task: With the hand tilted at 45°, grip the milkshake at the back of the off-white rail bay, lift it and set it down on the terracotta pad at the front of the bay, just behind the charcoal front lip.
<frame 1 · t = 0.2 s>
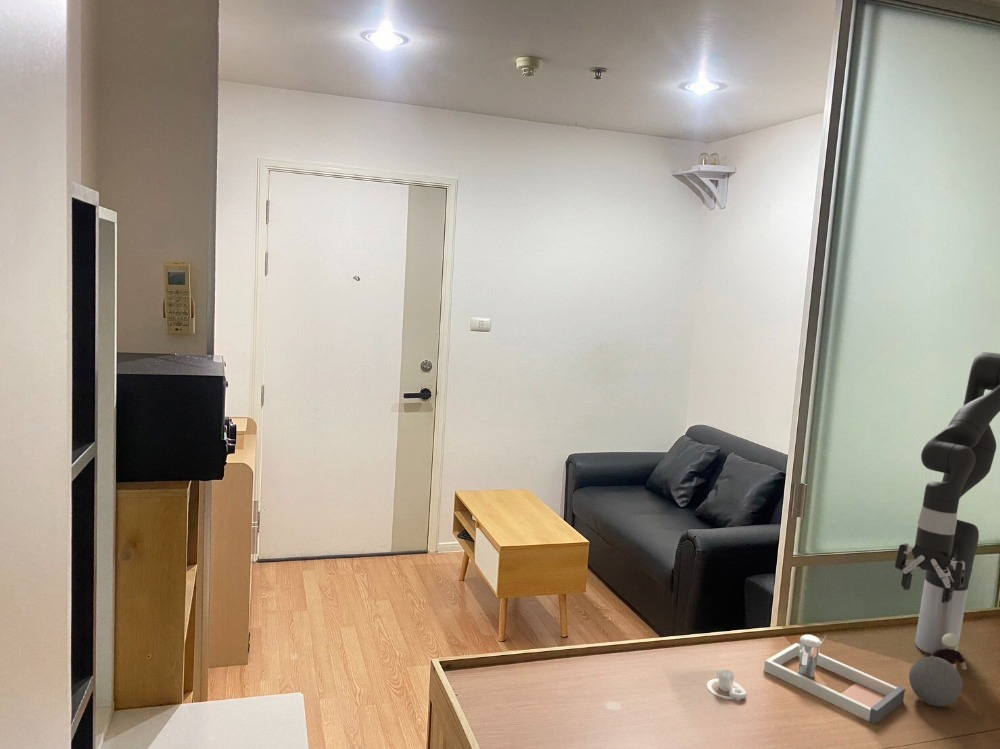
hand: (925, 595, 182), 18 cm above the table, tool pointing down, fingers open, 8 cm apart
grandmother figurine: (942, 687, 177), on the table
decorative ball: (931, 703, 170), on the table
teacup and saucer: (721, 698, 168), on the table
milkshake: (808, 675, 178), on the table
bay: (831, 685, 174), on the table
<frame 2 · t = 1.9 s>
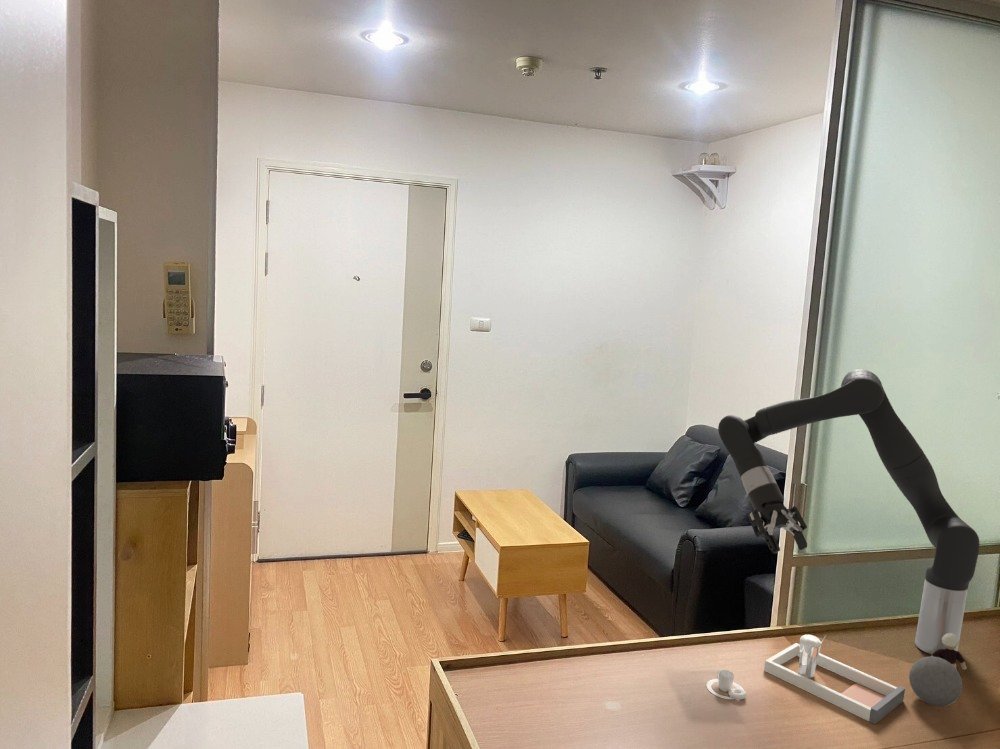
hand: (790, 550, 186), 25 cm above the table, tool tilted 45°, fingers open, 8 cm apart
nothing on the table moved.
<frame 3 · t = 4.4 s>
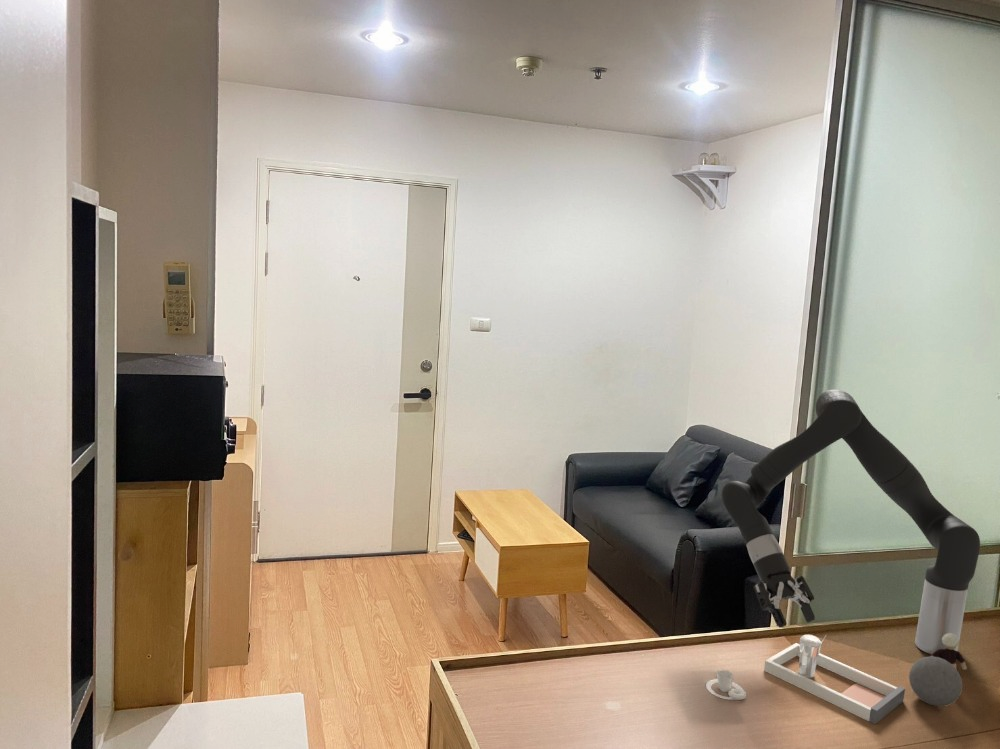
hand: (797, 623, 181), 10 cm above the table, tool tilted 45°, fingers open, 8 cm apart
nothing on the table moved.
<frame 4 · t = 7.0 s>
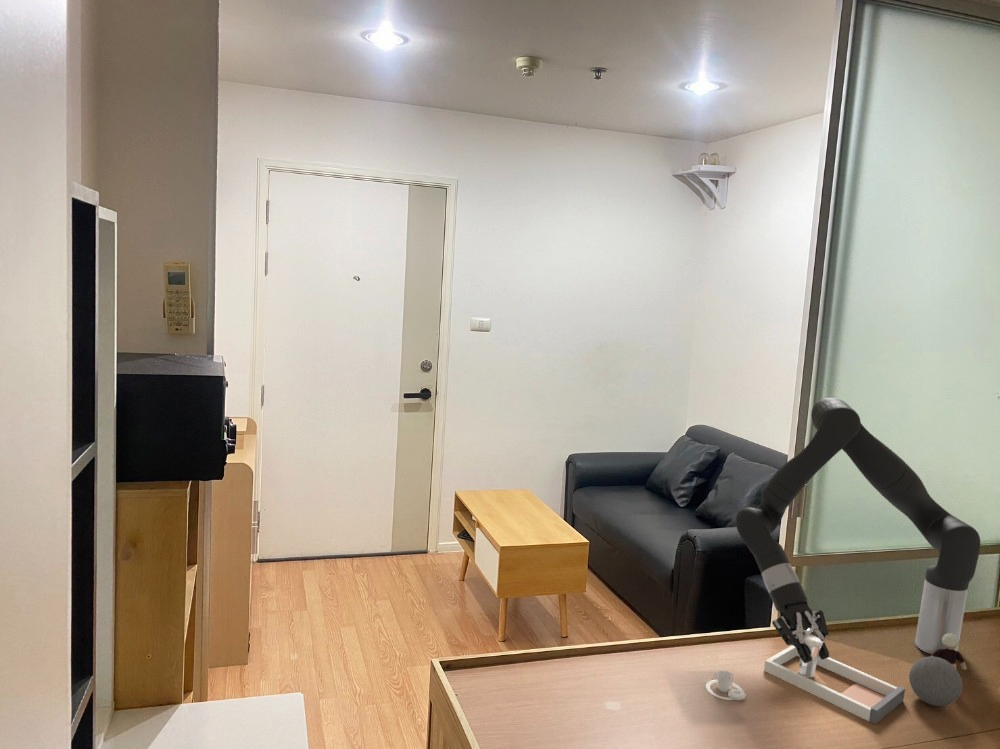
hand: (817, 659, 176), 5 cm above the table, tool tilted 45°, fingers closed on milkshake, 4 cm apart
milkshake: (808, 675, 178), on the table, touching gripper
everything else where it was.
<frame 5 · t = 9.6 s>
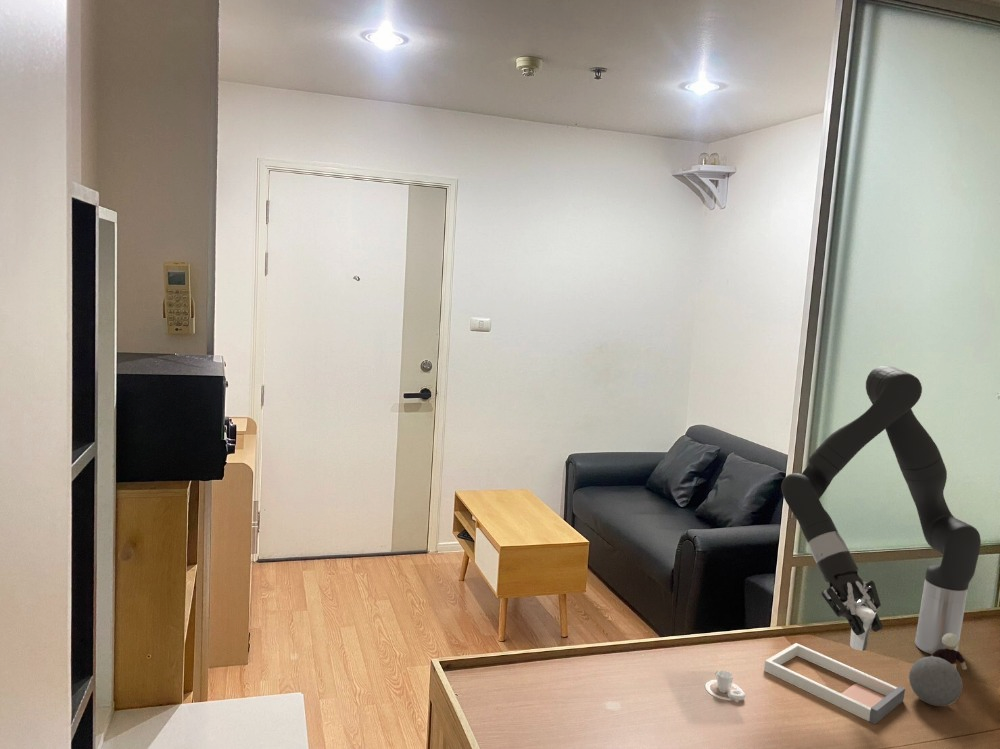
hand: (869, 631, 167), 16 cm above the table, tool tilted 45°, fingers closed on milkshake, 4 cm apart
milkshake: (859, 648, 169), point 11 cm above the table, touching gripper
everything else where it was.
when the fingers open (6 cm above the table, at t = 12.5 s): milkshake stays where it is, resting on bay.
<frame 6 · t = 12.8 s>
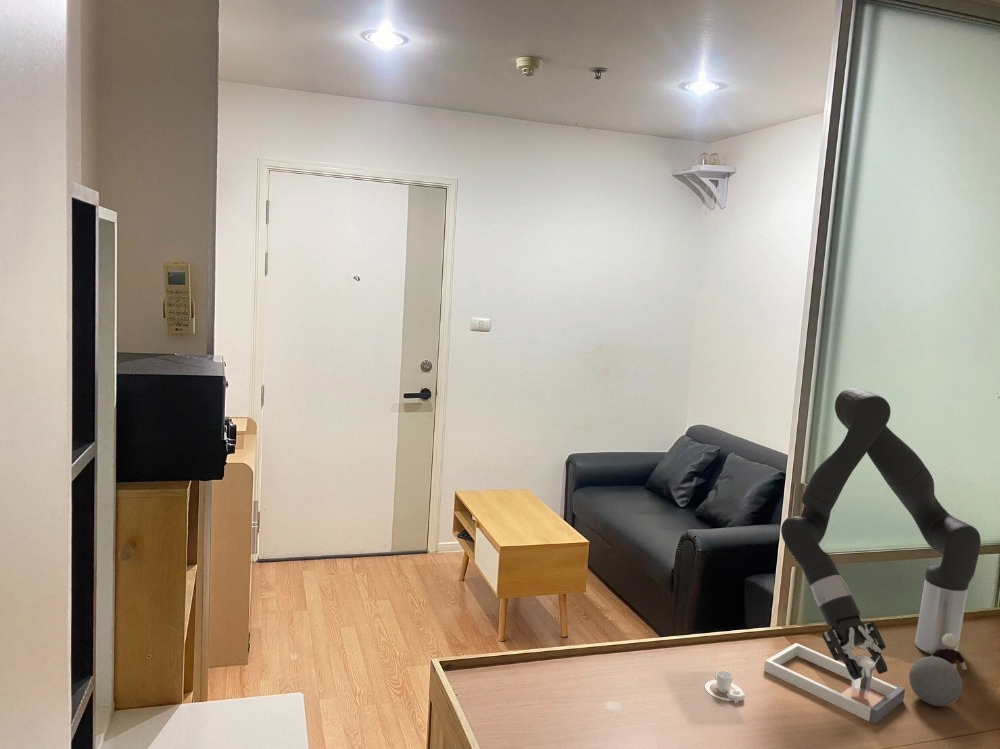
hand: (871, 675, 167), 6 cm above the table, tool tilted 45°, fingers open, 7 cm apart
milkshake: (860, 697, 170), resting on bay
everything else where it was.
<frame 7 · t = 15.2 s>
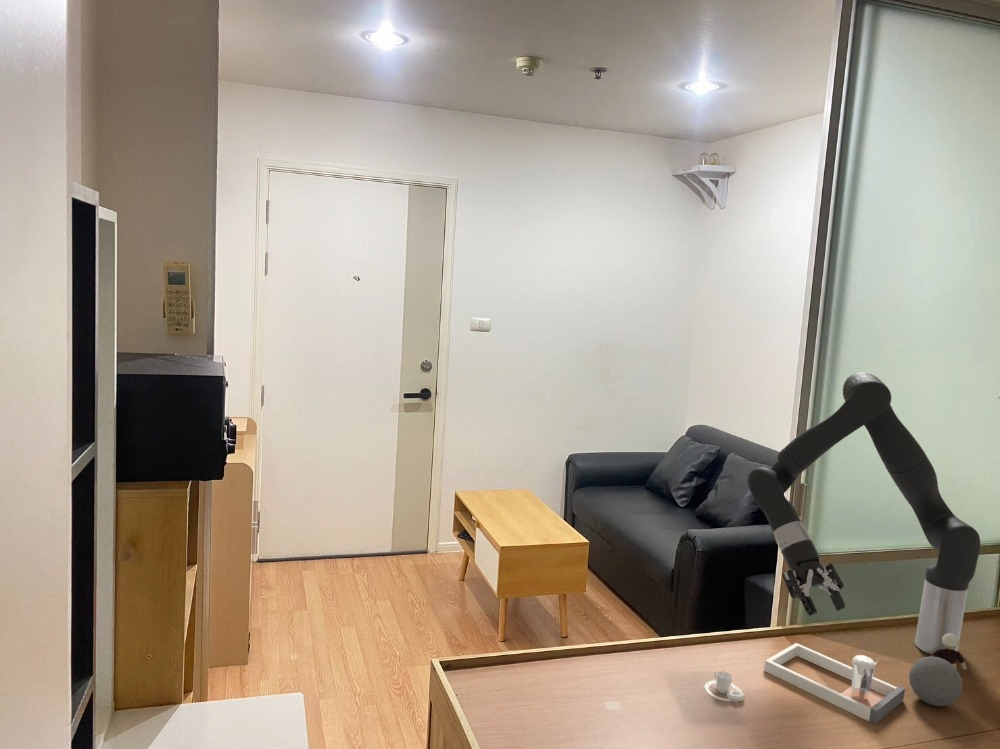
hand: (827, 611, 177), 15 cm above the table, tool tilted 45°, fingers open, 8 cm apart
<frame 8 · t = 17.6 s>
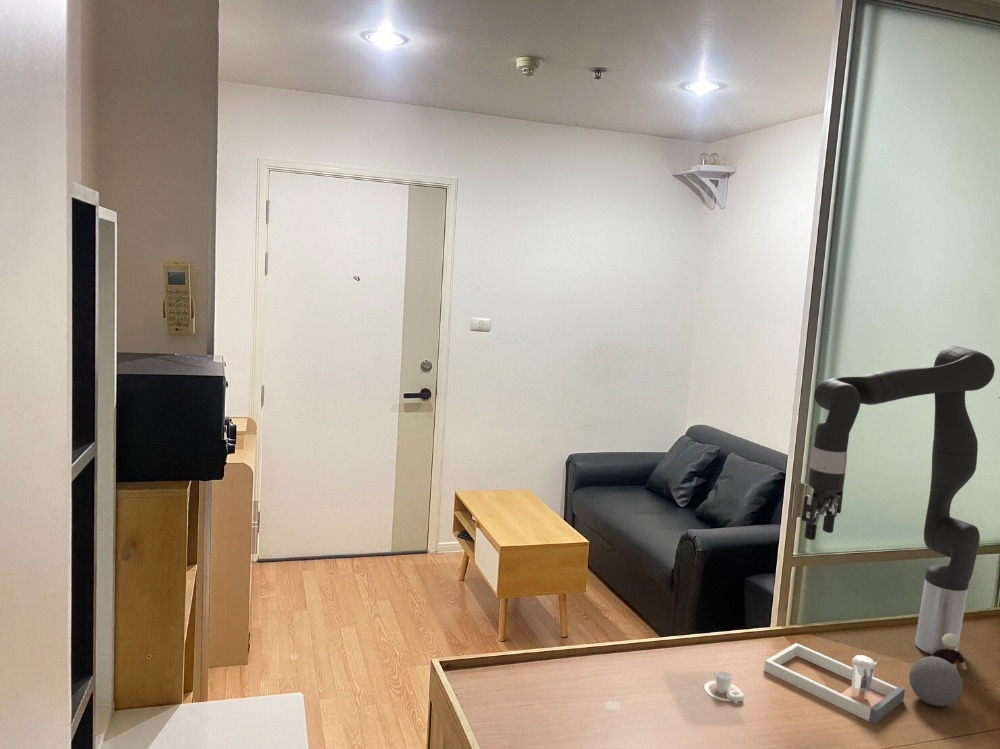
hand: (818, 535, 182), 30 cm above the table, tool pointing down, fingers open, 8 cm apart
at the end: milkshake tilted 0°; the gripper is holding nothing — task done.
